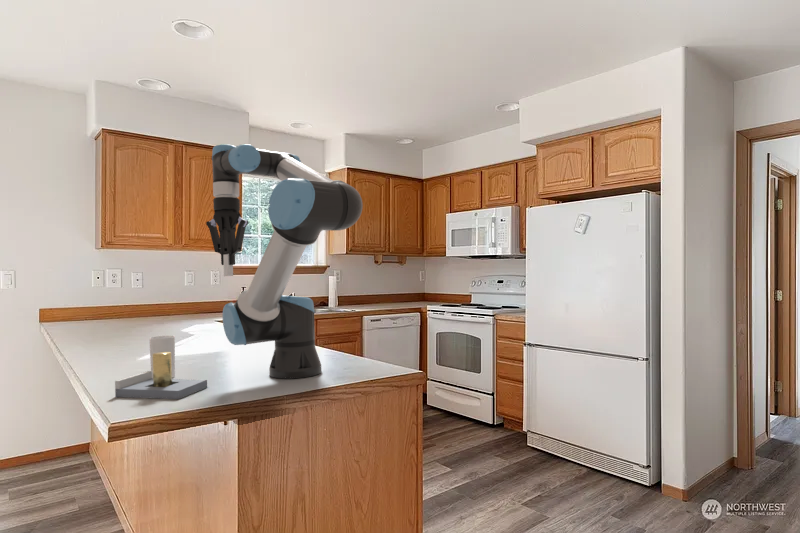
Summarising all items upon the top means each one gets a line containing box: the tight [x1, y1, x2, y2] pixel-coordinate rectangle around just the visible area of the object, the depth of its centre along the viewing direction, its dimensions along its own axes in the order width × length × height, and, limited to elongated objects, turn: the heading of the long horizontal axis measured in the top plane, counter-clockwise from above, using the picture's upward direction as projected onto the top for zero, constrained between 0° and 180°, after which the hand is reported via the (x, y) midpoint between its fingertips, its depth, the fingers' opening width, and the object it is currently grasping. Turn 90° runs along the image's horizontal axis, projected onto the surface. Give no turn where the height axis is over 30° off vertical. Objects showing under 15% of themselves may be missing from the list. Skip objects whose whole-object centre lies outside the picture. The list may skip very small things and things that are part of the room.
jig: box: [114, 370, 208, 400], centre depth 132 cm, size 18×12×4 cm, turn 78°
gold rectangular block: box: [153, 352, 173, 387], centre depth 132 cm, size 4×4×10 cm
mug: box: [149, 335, 176, 379], centre depth 152 cm, size 10×7×12 cm, turn 5°
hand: (228, 276), depth 154 cm, fingers closed
